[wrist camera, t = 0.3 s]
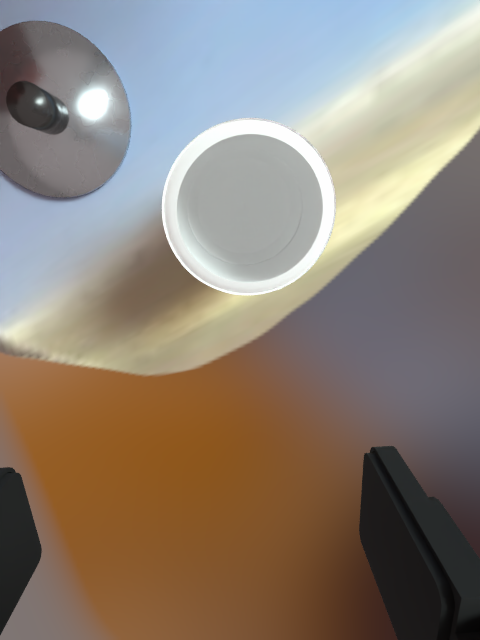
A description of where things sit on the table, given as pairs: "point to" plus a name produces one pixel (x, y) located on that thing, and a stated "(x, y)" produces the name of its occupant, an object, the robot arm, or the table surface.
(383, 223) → the table surface
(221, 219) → the jar
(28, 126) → the lid
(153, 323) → the table surface
